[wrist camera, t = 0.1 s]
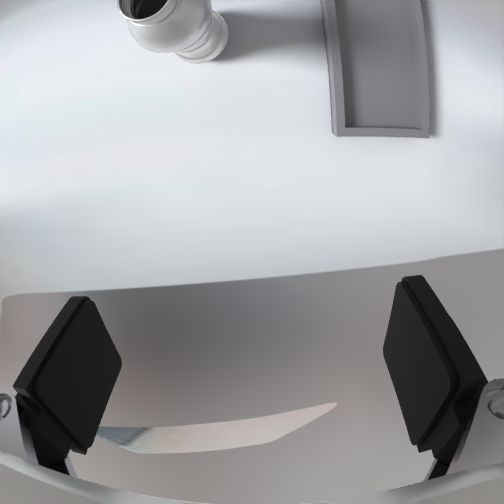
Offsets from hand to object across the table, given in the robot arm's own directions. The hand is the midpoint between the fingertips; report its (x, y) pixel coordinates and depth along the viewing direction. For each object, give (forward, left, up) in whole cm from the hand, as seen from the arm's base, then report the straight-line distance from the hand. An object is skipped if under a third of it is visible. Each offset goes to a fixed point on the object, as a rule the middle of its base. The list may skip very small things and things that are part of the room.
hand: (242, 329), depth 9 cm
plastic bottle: (-14, -5, -31) cm, 35 cm away
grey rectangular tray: (-13, +15, -31) cm, 37 cm away
